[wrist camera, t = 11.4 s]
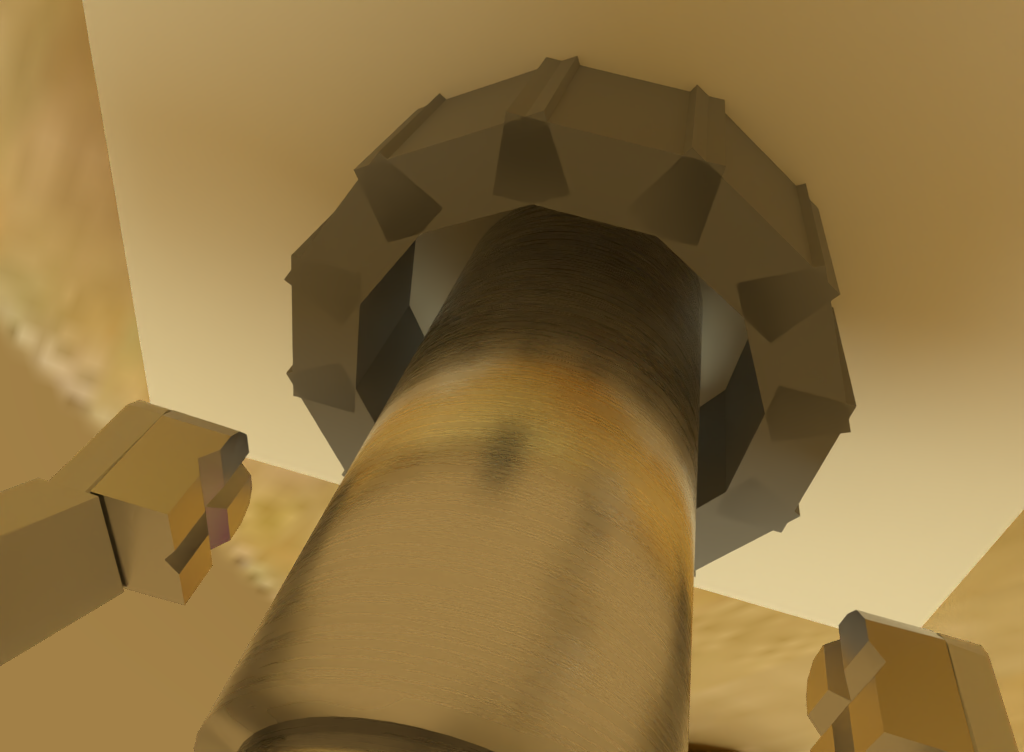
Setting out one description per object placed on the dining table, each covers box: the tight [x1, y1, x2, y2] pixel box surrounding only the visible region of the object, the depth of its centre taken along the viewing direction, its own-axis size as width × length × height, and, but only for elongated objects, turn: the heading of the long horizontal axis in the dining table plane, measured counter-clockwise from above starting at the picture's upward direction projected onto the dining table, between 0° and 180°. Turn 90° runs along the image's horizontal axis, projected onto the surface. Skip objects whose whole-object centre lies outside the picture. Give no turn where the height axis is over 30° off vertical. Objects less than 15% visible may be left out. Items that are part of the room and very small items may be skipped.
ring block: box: [82, 0, 1024, 628], centre depth 14 cm, size 20×14×4 cm
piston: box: [194, 205, 703, 752], centre depth 11 cm, size 5×5×11 cm
